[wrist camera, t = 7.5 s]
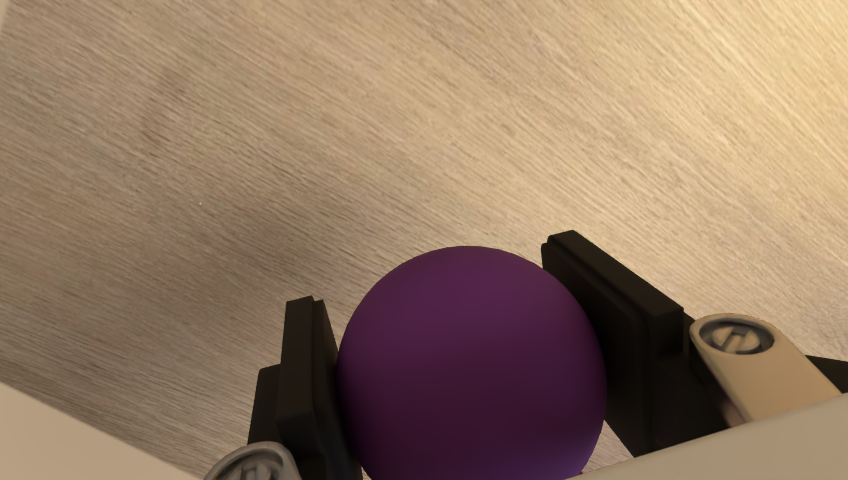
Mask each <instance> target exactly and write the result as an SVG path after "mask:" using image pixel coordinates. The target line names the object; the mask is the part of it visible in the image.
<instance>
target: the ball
mask: <svg viewBox="0 0 848 480" xmlns="http://www.w3.org/2000/svg"><path fill="white" fill-rule="evenodd" d="M335 381H336V389H337V396H338V402H339V407H340V412H341V416H342V421H343V425H344V429H345V432H346V436H347V439H348V443H349V445H350V448H351V450H352V452H353V454H354V456H355V457H356V459H357V460H358V462H359V463H360V465H361V466H362V468H363V469H364V471H365V472H366V474H367V475H368V476H369V477H370V478H371V479H372V480H565V479H568V478H572V477H575V476H578V475H579V474H580V472H581V471H582V469H583V468H584V466H585V465H586V464H587V462H588V460H589V458H590V456H591V454H592V453H593V450H594V448H595V445H596V443H597V440H598V438H599V435H600V433H601V430H602V426H603V422H604V417H605V410H606V402H607V377H606V367H605V362H604V357H603V353H602V350H601V346H600V343H599V340H598V337H597V335H596V332H595V330H594V328H593V326H592V324H591V322H590V320H589V319H588V317H587V315H586V313H585V311H584V310H583V308H582V307H581V305H580V304H579V303H578V302H577V300H576V299H575V298H574V297H573V295H572V294H571V293H570V292H569V291H568V289H567V288H566V287H565V286H564V285H563V284H561V283H560V282H559V281H558V280H557V279H556V278H555V277H553V276H552V275H551V274H550V273H548V272H547V271H545V270H544V269H542V268H541V267H539V266H538V265H536V264H535V263H533V262H531V261H528V260H526V259H524V258H522V257H520V256H517V255H515V254H513V253H509V252H506V251H503V250H499V249H494V248H487V247H480V246H456V247H447V248H442V249H438V250H433V251H430V252H427V253H424V254H422V255H419V256H416V257H414V258H412V259H410V260H408V261H406V262H404V263H402V264H401V265H399V266H398V267H396V268H395V269H393V270H392V271H390V272H389V273H388V274H386V275H385V276H384V277H383V278H382V279H380V280H379V281H378V282H377V283H376V284H375V285H374V286H373V287H372V288H371V290H370V291H369V292H368V293H367V294H366V295H365V297H364V298H363V300H362V301H361V302H360V304H359V305H358V307H357V308H356V310H355V311H354V313H353V315H352V317H351V319H350V321H349V323H348V324H347V327H346V330H345V332H344V335H343V338H342V341H341V344H340V348H339V352H338V357H337V362H336V379H335Z"/></svg>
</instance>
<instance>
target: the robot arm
mask: <svg viewBox="0 0 848 480" xmlns="http://www.w3.org/2000/svg"><path fill="white" fill-rule="evenodd" d="M541 255H542V265H543V269H544V270H545V271H547V272H548V273H550V274H551V275H552V276H553V277H555V278H556V279H557V280H558V281H559V282H560V283H561V284H563V285H564V286H565V287H566V288H567V289H568V291H569V292H570V293H571V294H572V295H573V297H574V298H575V299H576V300H577V302H578V303H579V304H580V305H581V307H582V308H583V310H584V311H585V313H586V315H587V317H588V319H589V320H590V322H591V324H592V326H593V328H594V330H595V332H596V335H597V337H598V340H599V343H600V346H601V350H602V353H603V357H604V362H605V367H606V377H607V402H606V410H605V417H604V420H605V421H606V422H607V424H608V425H609V426H610V428H611V429H612V430H613V431H614V433H615V434H616V435H617V437H618V438H619V439H620V440H621V442H622V443H623V444H624V446H625V447H626V448H627V449H628V451H629V452H630V453H631V455H632V456H633V457H634V458H633V459H630V460H626V461H623V462H620V463H617V464H613V465H610V466H607V467H604V468H601V469H597V470H594V471H591V472H588V473H584V474H581V475H578V476H575V477H572V478H568V479H565V480H848V362H847V361H840V360H834V359H828V358H822V357H815V356H809V355H804V354H803V353H802V352H801V351H800V350H799V349H798V348H797V347H796V346H795V345H794V344H793V343H792V342H791V341H790V340H789V339H788V338H787V337H786V336H785V335H784V334H783V333H782V332H781V331H780V330H779V329H777V328H776V327H775V326H773V325H772V324H770V323H768V322H766V321H764V320H761V319H759V318H755V317H752V316H748V315H742V314H734V313H721V314H713V315H708V316H704V317H702V318H700V319H698V320H694V319H693V318H692V317H690V316H689V315H687V314H686V313H685V312H684V308H683V307H681V306H680V305H679V304H677V303H676V302H674V301H673V300H672V299H670V298H669V297H667V296H666V295H665V294H663V293H662V292H660V291H659V290H658V289H656V288H655V287H653V286H652V285H651V284H649V283H648V282H646V281H645V280H644V279H642V278H641V277H639V276H638V275H636V274H635V273H634V272H632V271H631V270H629V269H628V268H627V267H625V266H624V265H622V264H621V263H620V262H618V261H617V260H615V259H614V258H613V257H611V256H610V255H608V254H607V253H606V252H604V251H603V250H601V249H600V248H599V247H597V246H596V245H594V244H593V243H592V242H590V241H589V240H587V239H586V238H584V237H583V236H582V235H580V234H579V233H577V232H576V231H574V230H570V231H566V232H562V233H558V234H554V235H550V236H549V237H548V239H547V243H543V244H542V245H541ZM337 357H338V348H337V345H336V341H335V338H334V334H333V331H332V328H331V324H330V321H329V317H328V314H327V310H326V307H325V303H324V301H323V299H322V300H318V301H314V299H313V297H312V296H307V297H303V298H299V299H295V300H291V301H287V302H286V311H285V321H284V332H283V342H282V353H281V363H280V364H277V365H273V366H269V367H265V368H262V369H260V371H259V374H258V380H257V386H256V392H255V399H254V405H253V411H252V417H251V424H250V430H249V436H248V443H247V445H246V446H243V447H241V448H238V449H237V450H235V451H233V452H231V453H230V454H228V455H226V456H225V457H224V458H222V459H221V460H220V461H219V462H218V463H216V464H215V465H214V466H213V467H212V469H211V470H210V471H209V472H208V473H207V475H206V476H205V477H204V480H363V476H362V468H361V465H360V463H359V462H358V460H357V459H356V457H355V456H354V454H353V452H352V450H351V448H350V445H349V443H348V439H347V436H346V432H345V429H344V425H343V421H342V416H341V412H340V407H339V402H338V396H337V389H336V381H335V379H336V362H337Z"/></svg>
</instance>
